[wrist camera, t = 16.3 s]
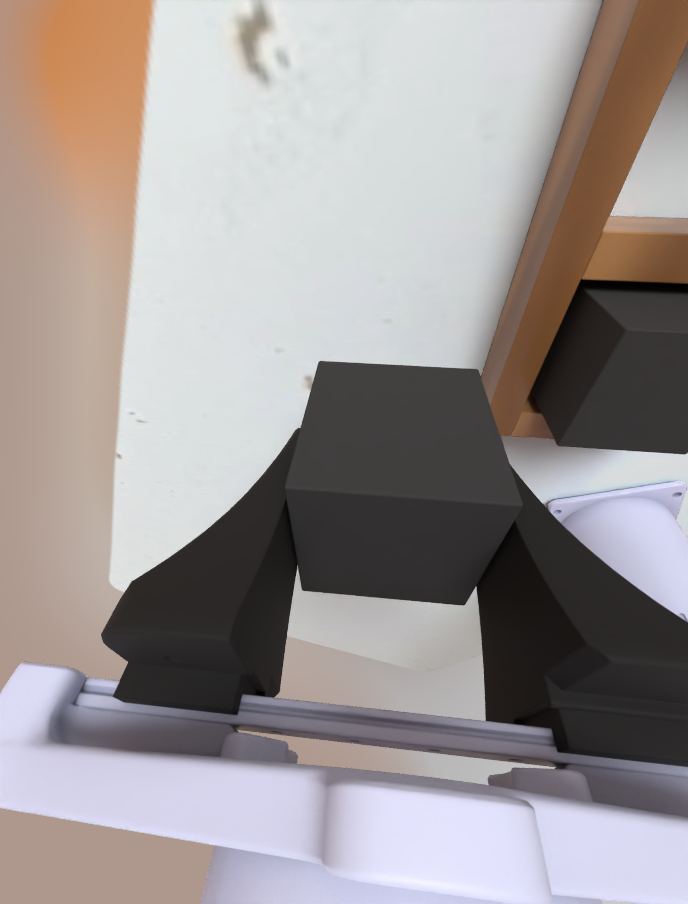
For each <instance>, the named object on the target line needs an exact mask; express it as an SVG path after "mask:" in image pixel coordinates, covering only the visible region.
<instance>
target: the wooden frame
mask: <svg viewBox="0 0 688 904" xmlns="http://www.w3.org/2000/svg"><path fill="white" fill-rule="evenodd" d="M687 42H688V0H603V3H602V6H601V9H600V12H599V15H598V18H597V22H596V25H595V28H594V31H593V34H592V37H591V40H590V43H589V46H588V49H587V52H586V55H585V59H584V62H583V65H582V68H581V71H580V74H579V77H578V80H577V83H576V86H575V89H574V92H573V96H572V99H571V102H570V105H569V108H568V111H567V114H566V117H565V120H564V123H563V126H562V130H561V133H560V136H559V139H558V142H557V145H556V148H555V151H554V154H553V157H552V160H551V163H550V167H549V170H548V173H547V176H546V179H545V182H544V185H543V188H542V191H541V194H540V197H539V200H538V204H537V207H536V210H535V213H534V216H533V219H532V222H531V225H530V228H529V231H528V234H527V237H526V241H525V244H524V247H523V250H522V253H521V256H520V259H519V262H518V265H517V268H516V271H515V274H514V278H513V281H512V284H511V287H510V290H509V293H508V296H507V299H506V302H505V305H504V308H503V311H502V315H501V318H500V321H499V324H498V327H497V330H496V333H495V336H494V339H493V342H492V345H491V349H490V352H489V355H488V358H487V361H486V364H485V367H484V370H483V373H482V376H481V380H482V383H483V386H484V389H485V392H486V395H487V398H488V401H489V404H490V407H491V410H492V413H493V416H494V419H495V422H496V425H497V428H498V431H499V434H500V435H504V436H510V435H511V436H519V437H534V438H550V439H554V437H553V435H552V433H551V431H550V429H549V427H548V425H547V423H546V421H545V419H544V417H543V415H542V413H541V411H540V409H539V407H538V405H537V403H536V401H535V399H534V397H533V395H532V393H531V389H532V386H533V384H534V382H535V380H536V378H537V375H538V373H539V371H540V369H541V366H542V364H543V362H544V360H545V358H546V355H547V353H548V351H549V349H550V346H551V344H552V342H553V340H554V338H555V335H556V333H557V331H558V329H559V326H560V324H561V322H562V320H563V318H564V315H565V313H566V311H567V309H568V306H569V304H570V302H571V300H572V298H573V295H574V293H575V291H576V289H577V287H578V284H579V282H580V280H581V279H582V280H602V281H627V282H651V283H676V284H688V218H658V217H625V216H609V215H610V213H611V211H612V209H613V207H614V204H615V202H616V200H617V198H618V196H619V193H620V191H621V189H622V187H623V184H624V182H625V180H626V178H627V176H628V173H629V171H630V169H631V167H632V164H633V162H634V160H635V158H636V156H637V153H638V151H639V149H640V147H641V144H642V142H643V140H644V138H645V136H646V133H647V131H648V129H649V127H650V125H651V122H652V120H653V118H654V116H655V113H656V111H657V109H658V107H659V105H660V102H661V100H662V98H663V96H664V93H665V91H666V89H667V87H668V85H669V82H670V80H671V78H672V76H673V73H674V71H675V69H676V67H677V65H678V62H679V60H680V58H681V56H682V53H683V51H684V49H685V47H686V45H687Z"/></svg>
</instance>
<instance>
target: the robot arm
mask: <svg viewBox="0 0 688 904" xmlns="http://www.w3.org/2000/svg"><path fill="white" fill-rule="evenodd" d="M300 429H301V428H298V429H296V430H295V432H294V433H293V435H292V436H291V438H290V439H289V441H288V442H287V444H286V445H285V447H284V448H283V449H282V451H281V452H280V454H279V455H278V456H277V458H276V459H275V460H274V461H273V463H272V464H271V465H270V466H269V468H268V469H267V470H266V472H265V473H264V474H263V475H262V476H261V477H260V479H259V480H258V481H257V482H256V483H255V484H254V485H253V486H252V488H251V489H250V490H249V491H248V492H247V493H246V494H245V495H244V496H243V497H242V498H241V499H240V500H239V501H238V502H237V503H236V504H235V505H234V506H233V507H232V508H231V509H230V510H229V511H228V512H227V513H225V514H224V515H223V516H222V517H221V518H220V519H219V520H217V521H216V522H215V523H214V524H213V525H212V526H211V527H209V528H208V529H207V530H206V531H204V532H203V533H202V534H201V535H199V536H198V537H197V538H195V539H194V540H193V541H191V542H190V543H189V544H187V545H186V546H185V547H183V548H182V549H181V550H179V551H178V552H177V553H175V554H174V555H172V556H171V557H169V558H168V559H166V560H165V561H163V562H162V563H160V564H159V565H157V566H156V567H154V568H152V569H151V570H149V571H148V572H146V573H145V574H143V575H142V576H140V577H138V578H137V579H135V580H133V581H132V582H131V584H130V585H129V587H128V588H127V590H126V591H125V593H124V594H123V596H122V597H121V599H120V601H119V602H118V604H117V606H116V608H115V610H114V611H113V613H112V615H111V617H110V619H109V621H108V623H107V624H106V626H105V628H104V630H103V632H102V634H101V636H102V640H103V642H104V644H105V645H106V646H108V647H109V648H110V649H111V650H113V651H114V652H116V653H117V654H119V655H120V656H121V657H122V658H124V659H125V660H126V661H128V664H127V666H126V668H125V671H124V673H123V675H122V677H121V679H120V681H119V680H110V679H101V678H92V677H86V675H85V674H84V673H82V672H80V671H79V670H76V669H74V668H70V667H65V666H60V665H51V664H41V663H32V662H23V663H20V664H19V665H18V667H17V668H16V670H15V671H14V673H13V675H12V676H11V678H10V679H9V680H8V682H7V683H6V685H5V686H4V688H3V689H2V691H1V692H0V808H3V809H9V810H15V811H21V812H27V813H33V814H39V815H45V816H51V817H57V818H62V819H68V820H73V821H79V822H85V823H90V824H96V825H102V826H108V827H113V828H119V829H125V830H130V831H136V832H142V833H148V834H153V835H159V836H165V837H171V838H176V839H182V840H188V841H194V842H199V843H205V844H211V845H214V849H213V853H212V857H211V861H210V865H209V870H208V874H207V878H206V883H205V887H204V891H203V895H202V900H201V904H602V902H601V900H609V901H620V902H630V903H640V904H688V537H687V535H686V534H685V532H684V531H683V530H682V528H681V527H680V525H679V524H678V522H677V521H676V519H677V516H678V513H679V511H680V508H681V505H682V502H683V499H684V496H685V494H686V491H687V485H686V484H685V483H684V482H682V481H674V482H667V483H661V484H654V485H648V486H641V487H635V488H628V489H622V490H615V491H609V492H602V493H596V494H589V495H583V496H576V497H570V498H564V499H557V500H553V501H551V502H550V503H549V504H548V509H547V508H546V507H545V506H544V505H543V504H542V503H541V502H540V500H539V499H538V498H537V497H536V496H535V495H534V494H533V492H532V491H531V490H530V489H529V488H528V486H527V485H526V484H525V483H524V481H523V480H522V479H521V478H520V477H519V475H518V474H517V473H516V472H515V470H514V469H513V468H512V466H511V465H510V467H511V470H512V473H513V476H514V479H515V482H516V485H517V488H518V491H519V494H520V497H521V500H522V503H523V507H522V508H521V510H520V512H519V513H518V515H517V517H516V519H515V520H514V522H513V524H512V525H511V527H510V529H509V531H508V532H507V534H506V536H505V537H504V539H503V541H502V543H501V544H500V546H499V548H498V549H497V551H496V553H495V554H494V556H493V558H492V560H491V561H490V563H489V565H488V566H487V568H486V570H485V572H484V573H483V575H482V577H481V578H480V580H479V582H478V584H477V585H476V587H477V595H478V604H479V615H480V626H481V637H482V651H483V664H484V685H485V708H486V709H485V710H486V721H479V720H470V719H461V718H452V717H443V716H434V715H425V714H416V713H407V712H398V711H389V710H380V709H371V708H362V707H353V706H344V705H335V704H326V703H317V702H308V701H299V700H290V699H281V698H274V697H275V696H276V695H277V694H278V693H279V691H280V684H281V676H282V668H283V660H284V652H285V644H286V638H287V631H288V623H289V616H290V610H291V603H292V596H293V590H294V584H295V577H296V571H297V565H298V563H297V557H296V552H295V546H294V540H293V534H292V528H291V522H290V516H289V510H288V505H287V499H286V493H285V483H286V480H287V476H288V472H289V469H290V465H291V461H292V458H293V454H294V451H295V447H296V443H297V440H298V436H299V432H300ZM237 730H244V731H252V732H260V733H269V734H278V735H286V736H294V737H303V738H311V739H320V740H328V741H337V742H346V743H354V744H362V745H371V746H379V747H389V748H397V749H405V750H414V751H423V752H431V753H440V754H448V755H456V756H465V757H474V758H482V759H490V760H499V761H507V762H516V763H525V764H534V765H542V766H550V767H556V768H555V769H539V768H538V769H537V768H512V770H511V772H507V773H504V774H497V775H490V776H489V777H488V784H489V785H482V784H476V783H469V782H462V781H454V780H448V779H440V778H432V777H424V776H416V775H407V774H399V773H390V772H381V771H371V770H361V769H351V768H340V767H328V766H316V765H305V764H297V759H298V755H297V754H296V752H293V751H291V750H289V749H288V744H287V742H285V741H281V740H276V739H271V738H266V737H261V736H257V735H252V734H247V733H239V732H238V731H237Z"/></svg>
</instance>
